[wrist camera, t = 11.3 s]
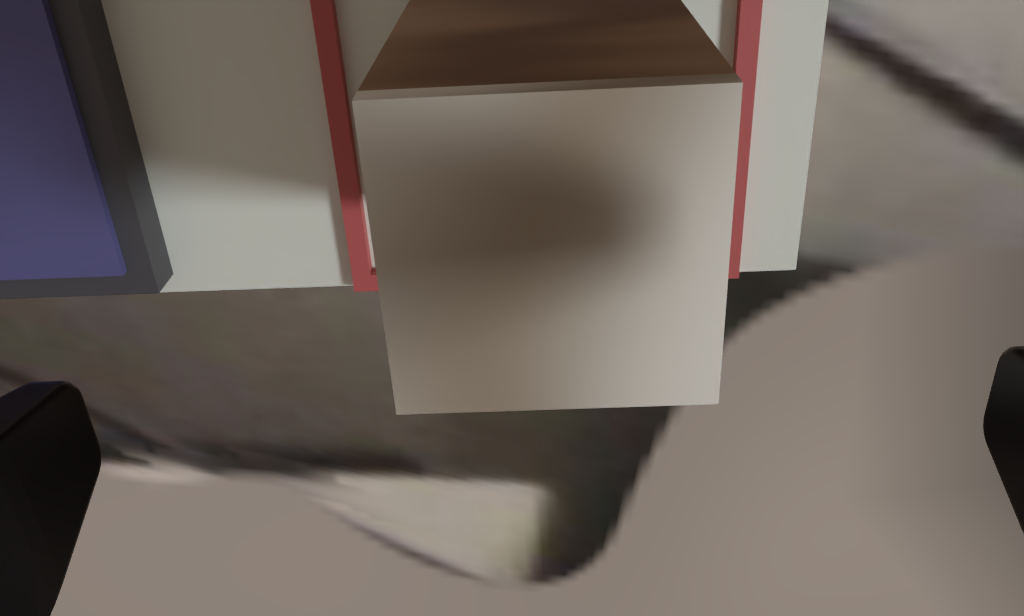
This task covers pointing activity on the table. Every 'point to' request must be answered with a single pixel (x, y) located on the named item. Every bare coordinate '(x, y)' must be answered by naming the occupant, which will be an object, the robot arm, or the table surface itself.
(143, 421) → the table surface
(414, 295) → the stamp
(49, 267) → the blotter board
